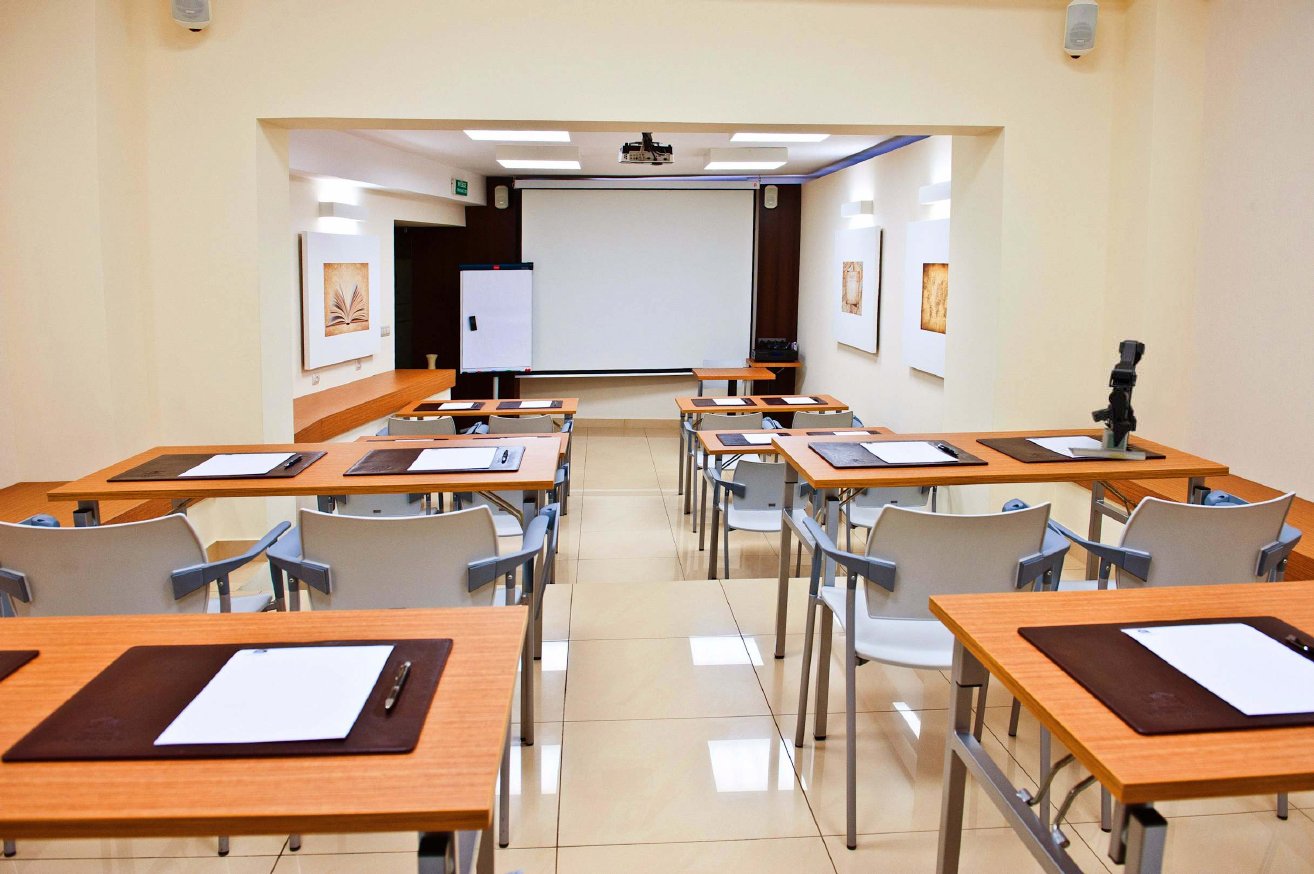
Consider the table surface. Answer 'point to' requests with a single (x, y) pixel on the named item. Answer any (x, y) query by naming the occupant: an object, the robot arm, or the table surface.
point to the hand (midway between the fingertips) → (1113, 445)
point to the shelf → (1108, 453)
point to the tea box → (1112, 441)
